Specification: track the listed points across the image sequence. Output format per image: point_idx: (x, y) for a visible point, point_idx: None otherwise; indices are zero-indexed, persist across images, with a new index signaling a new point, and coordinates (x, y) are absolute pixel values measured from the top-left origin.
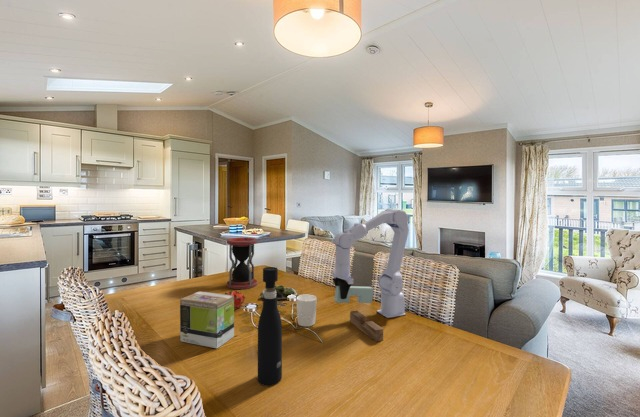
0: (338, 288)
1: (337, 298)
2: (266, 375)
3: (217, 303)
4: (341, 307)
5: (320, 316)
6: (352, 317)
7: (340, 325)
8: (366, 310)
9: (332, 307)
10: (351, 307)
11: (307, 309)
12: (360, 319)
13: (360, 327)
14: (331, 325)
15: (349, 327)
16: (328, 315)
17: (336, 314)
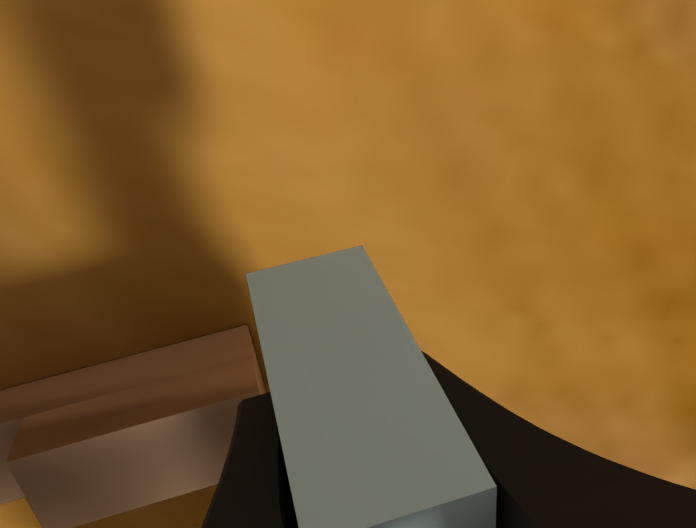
0: (314, 511)
1: (257, 327)
2: None
3: None
4: (613, 308)
5: (460, 11)
6: (196, 375)
7: (150, 201)
8: None
9: (649, 219)
10: (578, 396)
11: None
12: (17, 460)
13: (10, 401)
14: (160, 89)
15: (85, 288)
16: (461, 123)
17: (462, 222)
